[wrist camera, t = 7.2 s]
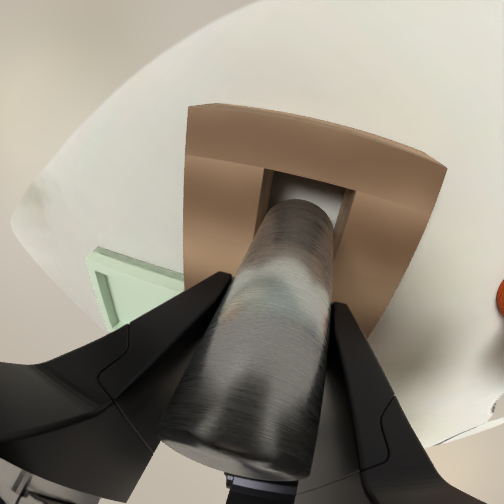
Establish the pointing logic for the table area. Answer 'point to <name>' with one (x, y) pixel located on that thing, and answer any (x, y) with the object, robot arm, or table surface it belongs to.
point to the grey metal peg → (262, 356)
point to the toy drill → (501, 297)
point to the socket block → (314, 167)
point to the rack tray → (129, 286)
